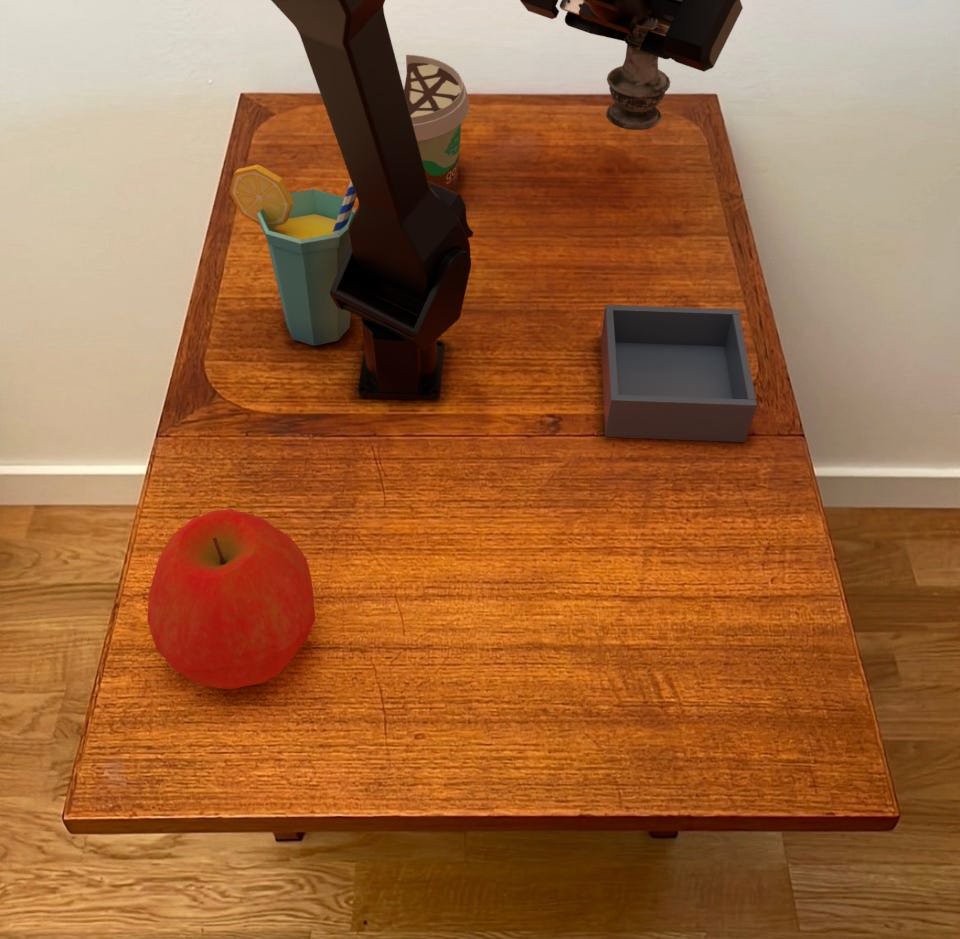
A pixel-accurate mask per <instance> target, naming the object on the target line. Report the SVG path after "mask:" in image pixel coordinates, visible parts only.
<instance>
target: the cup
mask: <svg viewBox="0 0 960 939" xmlns="http://www.w3.org/2000/svg"><path fill="white" fill-rule="evenodd" d="M228 193H229V194H230V196H231V199H232V200H233V201H234V204H235V205H236V207H237V209H238V211H239V213H240V214H241V216H243V217H245V218H247V219H249V220H250V221H252V222H254V223H255V224H257V225H259V226H260V228H261V230H262V233H263V235H264V236H265V239H266V242H267V247H268V250H269V256H270V260H271V264H272V269H273V273H274V277H275V281H276V285H277V290H278V295H279V299H280V302H281V308H282V312H283V316H284V320H285V325H286V327H287V330H288V332H289V335H290V337H291V339H292V340H294V341H298V342H300V343H304V344H308V345H310V346H320V345H324V344H329V343H334V342H338V341H339V340H340V339H341V338H342V337H343V335H344V334H346V332H347V331H349V329H350V327H351V312H349V311H347V310H345V309H344V310H342V309H340V308H338V307H337V306H336V304H335V303H334V301H333V299H332V298H331V296H330V290H331V288H332V285H333V283H334V281H335V278H336V276H337V274H338V271H339V269H340V267H341V264H342V262H343V260H344V257H345V255H346V253H347V250H348V248H349V246H350V243H351V241H350V236H349V230H348V225H349V223H350V221H351V219H352V217H353V215H354V213H355V211H356V210H354V206H355V204H356V203H355V202H356V200H357V196H356V193H355V190H354V187H353V184H352V181H351V180H350V181H349V184H348V187H347V191H346V193H345V195H344V196H340V195H337V194H333V193H330V192H327V191H322V190H319V189H314V188H313V189H312V188H311V189H307V190H300V191H293V192H290V191H289V189H288V187H287V185H286V184H285V181H284V179H283V177H281V176H279V175H278V174H275V173H274V172H272V171H270V170H269V169H267V168H265V167H263V166H262V165H260V164H255V165H250V166H245V167H241V168H237V169H236V170H235V171H234V172H233V176H232V179H231V183H230V187H229V191H228Z"/></svg>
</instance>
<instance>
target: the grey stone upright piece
mask: <svg viewBox="0 0 960 939" xmlns="http://www.w3.org/2000/svg"><path fill="white" fill-rule="evenodd" d="M647 16H648V15H646V17H647ZM647 32H648V30H647V29H644V28H641V27H638V26H635V28H634V30H633V32H632V34H627V35H626V36H625V39H624V40H625V41H624V43H625V44H626V51H625V58H624V61H623V63H622V65H621V66H617V67H615V68H613V69H612V70H611V71H610V72H609V73H608V74H607V75H606V76H607V77H606V81H607V84H608V86H609V87H608V89H609V93H610V96H611V99H612V101H613V103H612V104H610V105H609V106H608V107H607V108H606V111H605V116H606V119H607V120H608V121H609V122H610V124H612V125H614V126H615V127H618V128H621V129H625V130H631V131H645V130H649V129H652V128H654V127H657V125H659V123H660V122H661V121H662V113H661V111H660V110H659V109H658V108H657V106H658V105H659V104H660V103H661V102H662V101H663V99H664V97H665V95H666V92H667V91H668V90H669V89H670V87H671V80H670V77H669V76H668V75H667V74H666V72H664V71H662V70H661V69H659V57H657V56H654V55H651V54H648V53H645V52H642V51H640V50H639V49H640V47H641V45H642V43H643V41H644V39H645V36H646V34H647Z"/></svg>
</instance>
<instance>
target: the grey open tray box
mask: <svg viewBox="0 0 960 939" xmlns="http://www.w3.org/2000/svg"><path fill="white" fill-rule="evenodd" d="M599 345H600V361H601V381H602V382H601V383H602V399H603V400H602V401H603V420H604V437H605V438H620V439H621V438H623V439H645V440H646V439H648V440H649V439H650V440H672V441H673V440H675V441H677V440H678V441H703V442H726V443H727V442H728V443H746V441H747V438H748V436H749V433H750V429H751V426H752V422H753V421H754V416H755V413H756V410H757V407H758V404H757V403H758V402H757V398H756V393H755V392H756V391H755V387H754V383H753V376H752V371H751V367H750V361H749V356H748V351H747V345H746V340H745V335H744V329H743V324H742V319H741V314H740V309H735V308H711V307H710V308H708V307H680V306H679V307H678V306H677V307H675V306H653V305H652V306H647V305H624V304H623V305H620V304H619V305H618V304H605V306H604V313H603V320H602V327H601V336H600V344H599Z"/></svg>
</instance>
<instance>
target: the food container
mask: <svg viewBox="0 0 960 939" xmlns="http://www.w3.org/2000/svg"><path fill="white" fill-rule="evenodd" d="M405 63H406V75H405V81H404V83H405V84H404V86H403V89H404V92H405V96H406V100H407V104H408V108H409V112H410V116H411V119H412V123H413V127H414V131H415V135H416V139H417V142H418V146H419V150H420V154H421V158H422V162H423V166H424V169H425V173H426V177H427V181H429V182H431V183H434V184H436V185H438V186H441V187H443V188H446V189H448V190H450V191H453V192H455V189H456V188H457V186H458V181H459V180H458V178H459V164H460V150H461V136H462V135H461V134H462V123H463V122H464V120H465V119H466V118H467V116H468V114H469V112H470V111H469V110H470V101H469V95H468V92H467V88H466V85H465V83H464V81H463V80H462V76H461V75H460V73H459V72H458V71H457V69H456V70H455V68H454V67H452V66H450V65H449V64H447V63H446V62H443V61H441V60H439V59H435V58H432V57H428V56H424V55H418V54H417V55H415V54H405Z"/></svg>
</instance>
